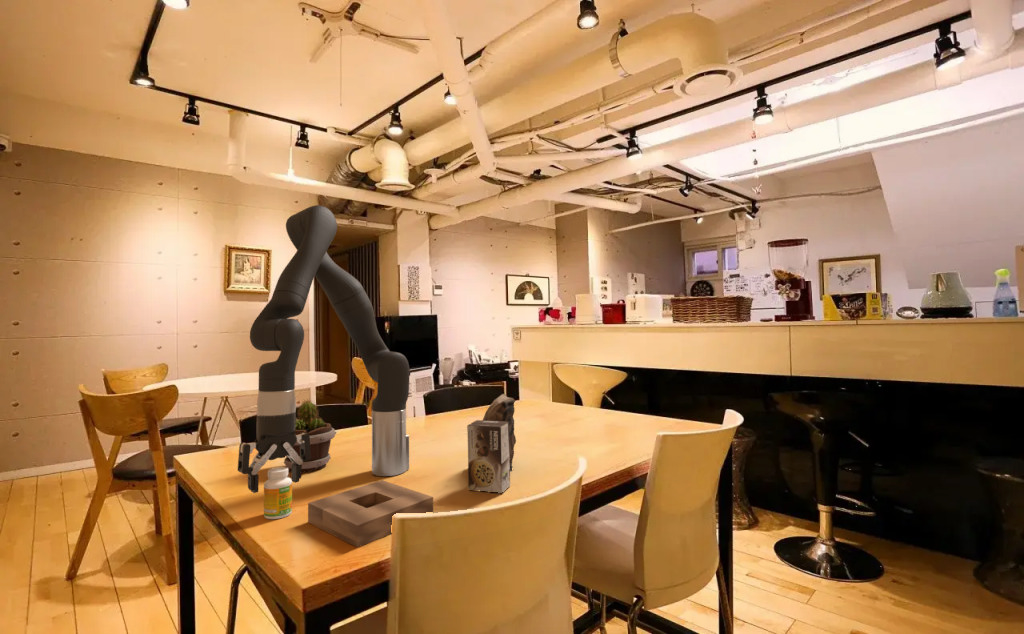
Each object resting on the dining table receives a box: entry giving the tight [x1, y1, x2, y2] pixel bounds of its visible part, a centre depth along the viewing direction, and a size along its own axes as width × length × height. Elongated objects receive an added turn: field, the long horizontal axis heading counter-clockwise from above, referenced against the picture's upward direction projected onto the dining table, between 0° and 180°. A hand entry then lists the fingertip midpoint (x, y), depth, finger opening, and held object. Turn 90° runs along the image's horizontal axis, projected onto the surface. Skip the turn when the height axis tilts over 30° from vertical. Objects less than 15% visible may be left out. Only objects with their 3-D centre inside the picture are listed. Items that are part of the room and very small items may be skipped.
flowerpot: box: [283, 399, 337, 473], centre depth 135 cm, size 14×15×20 cm
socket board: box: [307, 479, 434, 548], centre depth 98 cm, size 18×18×4 cm
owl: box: [482, 393, 517, 472], centre depth 133 cm, size 13×13×20 cm
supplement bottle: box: [263, 466, 293, 520], centre depth 101 cm, size 5×5×10 cm
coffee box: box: [466, 419, 511, 494], centre depth 116 cm, size 9×6×16 cm
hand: (275, 486), depth 101 cm, fingers open, 8 cm apart
